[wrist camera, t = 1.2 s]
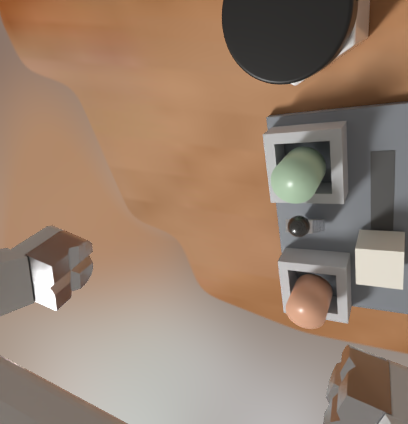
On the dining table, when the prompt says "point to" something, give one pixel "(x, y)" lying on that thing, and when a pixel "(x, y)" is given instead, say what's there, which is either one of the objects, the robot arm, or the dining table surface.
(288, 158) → the green button
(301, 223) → the ball-tipped lever
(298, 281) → the terracotta button
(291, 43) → the jar
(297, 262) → the panel
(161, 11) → the dining table surface
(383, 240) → the slider knob
